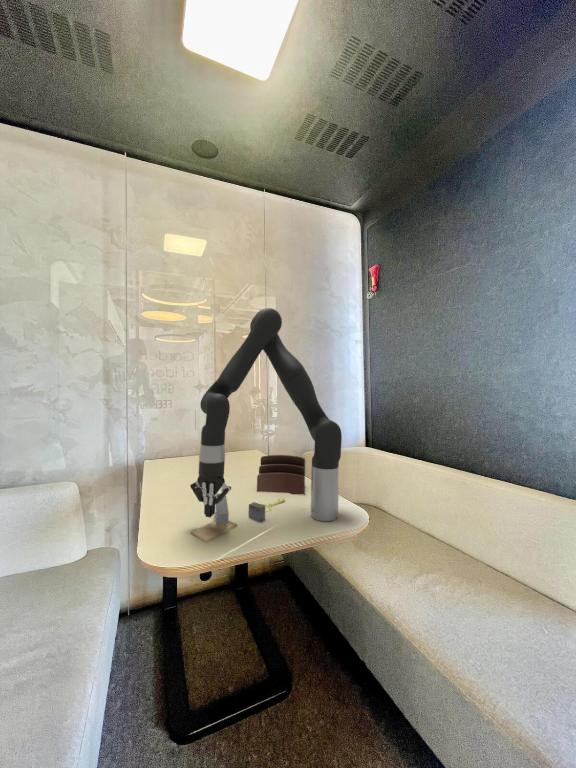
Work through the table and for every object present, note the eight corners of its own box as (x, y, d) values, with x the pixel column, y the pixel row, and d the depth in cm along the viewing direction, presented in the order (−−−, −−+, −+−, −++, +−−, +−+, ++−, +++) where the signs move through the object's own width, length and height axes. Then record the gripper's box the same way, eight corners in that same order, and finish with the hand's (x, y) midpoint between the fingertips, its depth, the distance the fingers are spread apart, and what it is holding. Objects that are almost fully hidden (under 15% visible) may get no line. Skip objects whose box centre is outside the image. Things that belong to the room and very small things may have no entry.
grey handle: (215, 511, 103) (215, 493, 103) (225, 510, 104) (225, 493, 104) (216, 534, 87) (216, 514, 87) (228, 533, 88) (228, 513, 88)
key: (285, 504, 113) (285, 498, 113) (266, 516, 103) (266, 510, 103) (270, 500, 117) (270, 494, 117) (250, 511, 107) (250, 505, 107)
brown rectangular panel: (222, 521, 97) (222, 517, 97) (237, 528, 93) (237, 524, 93) (190, 535, 88) (190, 531, 88) (205, 543, 83) (205, 539, 83)
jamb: (226, 505, 109) (226, 492, 109) (264, 521, 98) (265, 505, 98) (203, 515, 101) (203, 500, 101) (242, 532, 90) (243, 516, 90)
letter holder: (260, 485, 133) (260, 453, 133) (304, 487, 132) (305, 455, 132) (256, 493, 123) (257, 459, 123) (304, 495, 122) (305, 461, 122)
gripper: (237, 458, 93) (234, 514, 93) (198, 454, 96) (195, 508, 95) (227, 464, 85) (224, 524, 85) (185, 459, 88) (182, 518, 88)
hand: (209, 516), depth 90 cm, fingers closed
